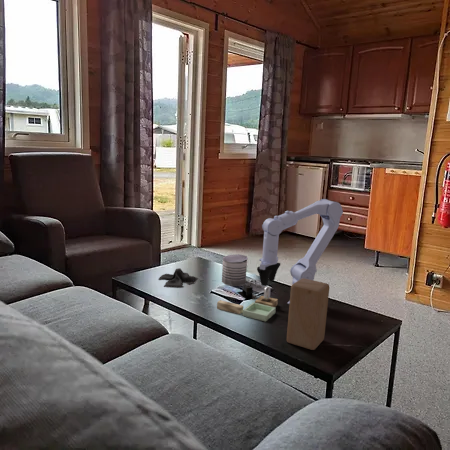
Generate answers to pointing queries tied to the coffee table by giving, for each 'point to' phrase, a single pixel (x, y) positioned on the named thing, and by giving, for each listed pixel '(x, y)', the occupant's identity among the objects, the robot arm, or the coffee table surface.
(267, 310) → the tray
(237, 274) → the can
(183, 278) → the cloth
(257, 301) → the pin socket
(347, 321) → the coffee table surface
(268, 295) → the pin
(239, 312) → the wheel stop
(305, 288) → the wooden block
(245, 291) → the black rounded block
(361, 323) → the coffee table surface
